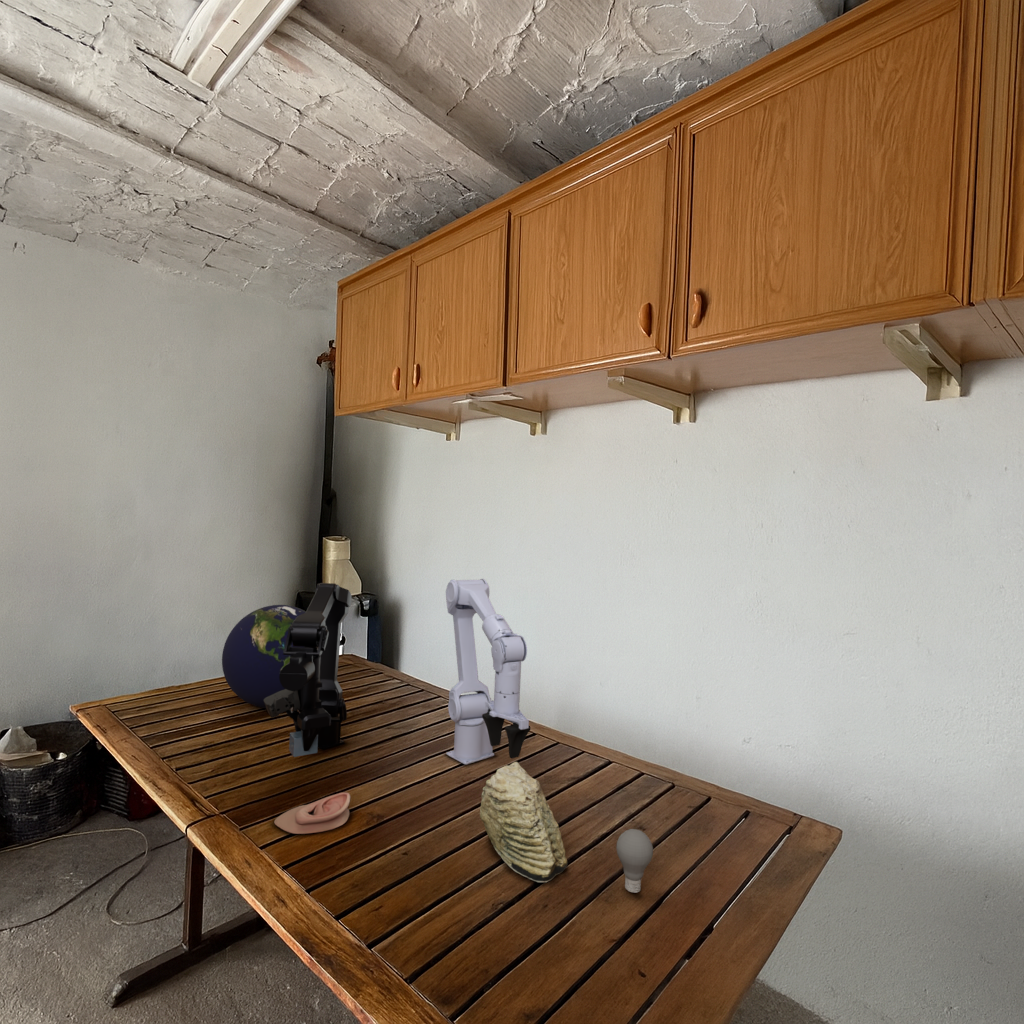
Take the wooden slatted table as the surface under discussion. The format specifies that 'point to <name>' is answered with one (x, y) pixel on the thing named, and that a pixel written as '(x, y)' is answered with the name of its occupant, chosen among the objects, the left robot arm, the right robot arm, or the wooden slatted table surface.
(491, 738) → the right robot arm
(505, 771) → the fossil
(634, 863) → the light bulb
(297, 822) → the anatomical model
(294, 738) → the brick
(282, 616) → the globe
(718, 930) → the wooden slatted table surface
